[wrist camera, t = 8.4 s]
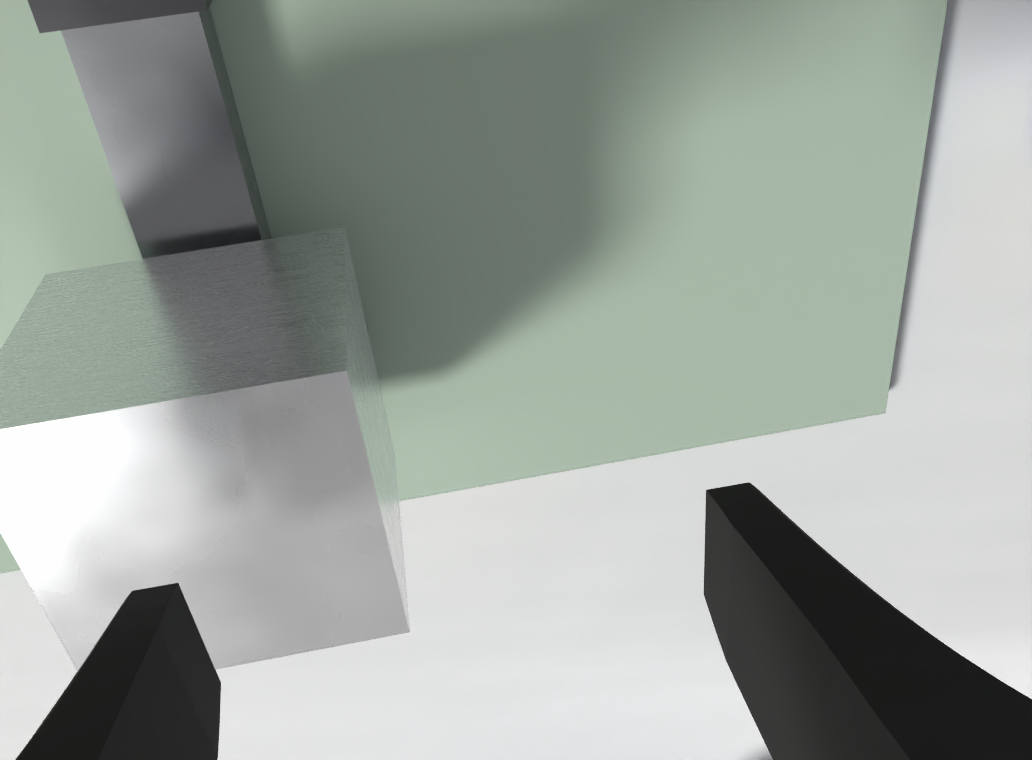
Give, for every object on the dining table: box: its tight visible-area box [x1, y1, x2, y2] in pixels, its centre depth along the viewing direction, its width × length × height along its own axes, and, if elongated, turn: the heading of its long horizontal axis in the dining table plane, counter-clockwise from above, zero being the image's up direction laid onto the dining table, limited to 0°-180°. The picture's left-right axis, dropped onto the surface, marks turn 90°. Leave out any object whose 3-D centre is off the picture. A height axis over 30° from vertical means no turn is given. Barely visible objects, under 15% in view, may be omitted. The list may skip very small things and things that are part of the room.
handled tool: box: [28, 0, 370, 339], centre depth 15 cm, size 5×17×4 cm, turn 6°
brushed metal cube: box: [0, 227, 410, 671], centre depth 16 cm, size 5×5×5 cm
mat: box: [0, 0, 948, 573], centre depth 17 cm, size 26×22×1 cm
